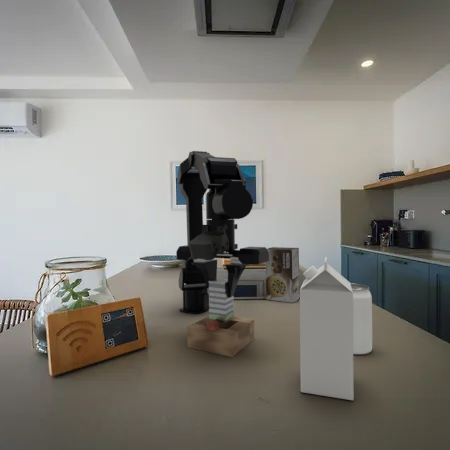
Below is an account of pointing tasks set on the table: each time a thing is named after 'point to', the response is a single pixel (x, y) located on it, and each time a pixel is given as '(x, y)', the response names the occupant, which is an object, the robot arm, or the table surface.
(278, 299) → the coffee box
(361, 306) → the can
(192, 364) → the table surface
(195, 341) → the tan stand block
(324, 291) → the milk carton
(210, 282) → the ratchet post
